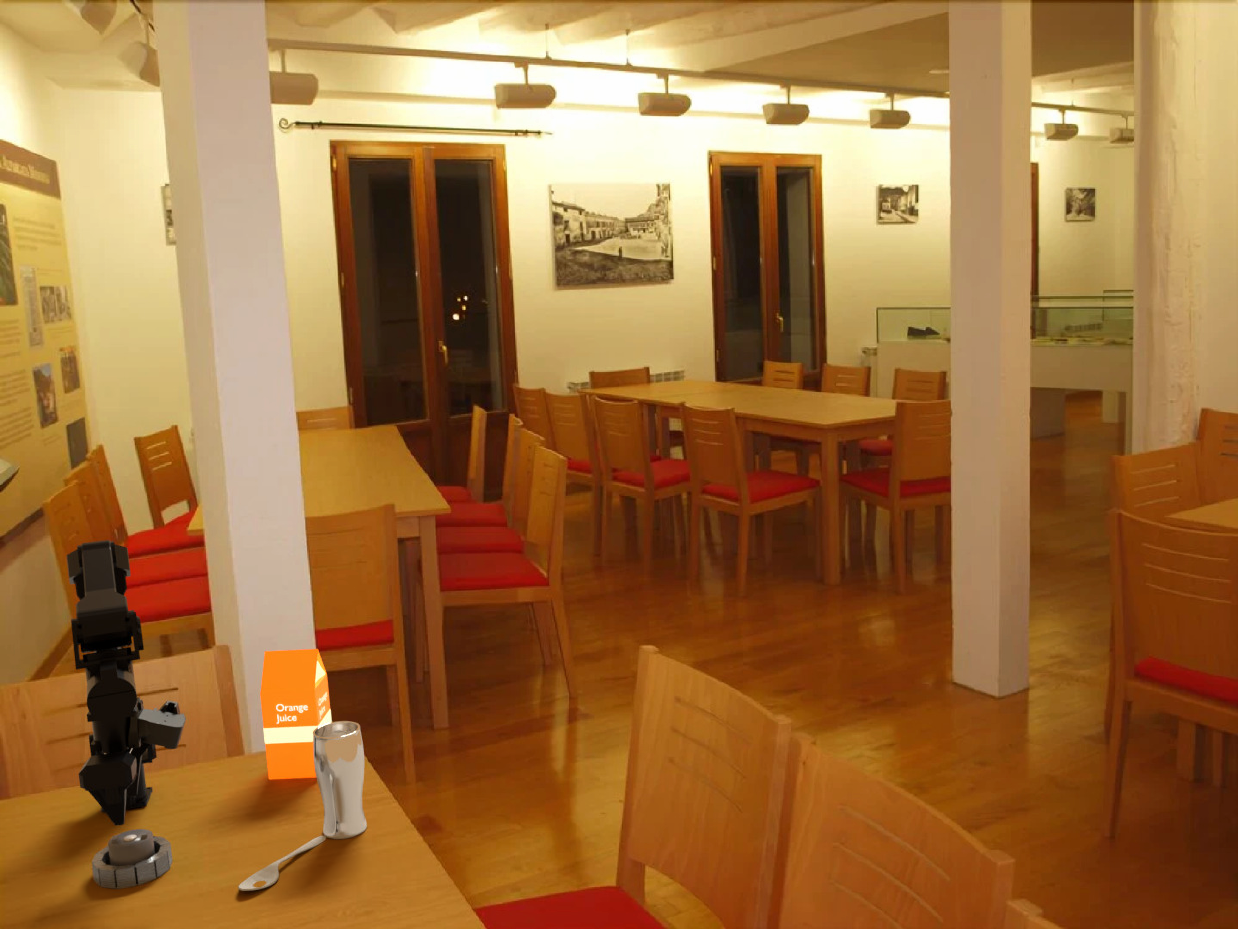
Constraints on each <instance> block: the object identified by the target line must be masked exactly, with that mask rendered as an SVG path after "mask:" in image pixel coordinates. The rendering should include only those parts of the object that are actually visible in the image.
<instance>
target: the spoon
mask: <svg viewBox="0 0 1238 929" xmlns="http://www.w3.org/2000/svg"><path fill="white" fill-rule="evenodd" d="M326 838H327V837H326V836H325V835H324V834H323V835H319V836H317V837H314V838H312V839H311V840H310V841H308V842H306V843H305V844H303V845H301V846H300V847H298V848H297V849H295V850H294V851H292V852H290V853H289V854H287V855H286V856H283V857H282V858H280V859H277V860H276V861H274V862H271V863H270V864H269V865H267V866H265V867H263V868H262V869H260V870H258V871H255V873H253V874H252V875H250V876H249V877H248V878H246V879H244V881H242V882H241V883H240V884H239V885H238V890H240V891H242V892H244V891H245V892H246V891H258V890H262V889H265V888H268V887H270V886H272V885H273V884H276V883H277V881H278V879H279V877H280V876H279V875H280V873H279V866H280V865H282V863H284V862H286V861H288V860H290V859H291V858H293V857H294V856H297V855H298V854H301V853H304V852H306V851H308V850H311V849H313V848H315V847H317V846H319V845H320V844H322V843H323V842H324V841H325V840H327V839H326ZM261 881H262V882H265V884H264V885H262V886H259V887H255V886H254V885H255V884H256V883H257V882H261Z"/></svg>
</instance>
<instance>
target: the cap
mask: <svg viewBox="0 0 1238 929" xmlns="http://www.w3.org/2000/svg"><path fill="white" fill-rule="evenodd" d="M153 836H154V833H153V831H151V830H150V829H146V828H145V829H144V828H136V829H130V830H126V831H124V832H121V833H118V834H116V835H113V836H112V837H111V838H110V839H109V840H108V842H107V846H108V849H109V856H110V864H111V865H112V866H125V865H131V864H136V863H139V862H141V861H144V860H147V859H149V858H151V857H152V856H154V855H155V849H154V841H153Z"/></svg>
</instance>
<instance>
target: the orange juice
mask: <svg viewBox="0 0 1238 929" xmlns="http://www.w3.org/2000/svg"><path fill="white" fill-rule="evenodd" d="M261 674H262V675H261V683H260V684H261V686H260V691H259V696H260V705H261V707H260V708H261V715H262V717H261V718H262V724H263V729H262V730H263V738H264V740H263V741H264V745H265V746H264V747H265V756H266V764H267V765H266V766H267V774H268V780H287V779H291V780H292V779H306V778H307V779H309V778H310V779H311V778H316V774H315V768H314V760H313V731H314V730H315V729H316V728H317V727H319V726H321V725H324V724H327V723H331V722H333V720H332V710H331V705H330V704H331V702H330V692H329V691H330V690H329V682H328V674H327V671H326V667H325V666H324V662H323V660H322V657H321V654H320V651H319V649H318V648H309V649H307V648H306V649H288V650H265V651H264V657H263V665H262V673H261Z"/></svg>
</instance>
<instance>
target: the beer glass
mask: <svg viewBox="0 0 1238 929" xmlns="http://www.w3.org/2000/svg"><path fill="white" fill-rule="evenodd" d="M364 751H365V750H364V743H363V738H362V732H361V725H360V724H359V723H358V722H356V721H355V722H354V721H349V720H340V721H339V720H338V721H332V722H331V723H327V724H324V725H321V726H319V727H317V728H316V729H315V730H314V731H313V760H314V768H315V774H316V777H315V778H316V781H317V784H318V788H319V792H320V793H319V794H320V795H321V800H322V804H323V809H324V811H323V812H324V818H323V825H322V826H323V828H322V829H323V830H322V833H323V835H325V836H326V838H329V839H333V840H345V839H350V838H355V837H357V836H359V835H360V834H362V833H363V832H365V831H366V830H367V826H368V823H367V820H366V817H365V816H366V815H365V812H364V809H363V788H364V779H365V778H364V777H365V752H364Z"/></svg>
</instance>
